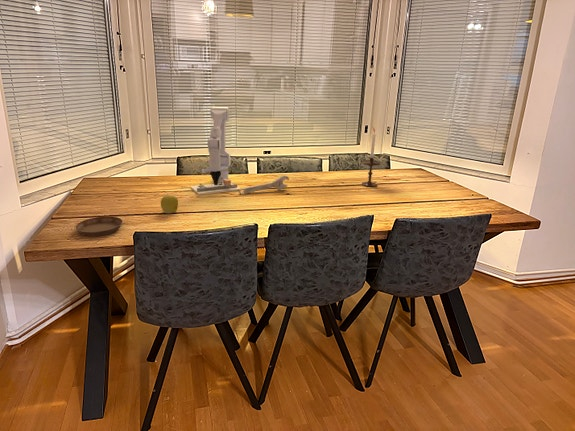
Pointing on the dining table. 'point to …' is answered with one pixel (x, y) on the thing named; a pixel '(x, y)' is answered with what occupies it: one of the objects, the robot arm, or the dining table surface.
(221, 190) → the hole plate
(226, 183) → the leg
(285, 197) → the dining table surface
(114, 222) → the plant saucer
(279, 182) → the wrench
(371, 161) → the candlestick
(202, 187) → the bar
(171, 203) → the apple
